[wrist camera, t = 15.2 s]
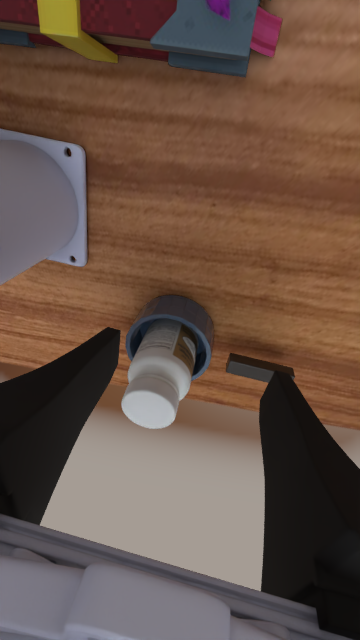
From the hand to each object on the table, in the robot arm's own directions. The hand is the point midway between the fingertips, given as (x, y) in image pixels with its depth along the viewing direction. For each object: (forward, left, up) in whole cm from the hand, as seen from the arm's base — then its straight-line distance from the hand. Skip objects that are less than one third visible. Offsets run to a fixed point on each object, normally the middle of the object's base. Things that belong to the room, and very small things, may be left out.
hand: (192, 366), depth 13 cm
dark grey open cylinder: (-2, -5, -9) cm, 11 cm away
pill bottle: (-2, -5, -9) cm, 11 cm away
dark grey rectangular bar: (+5, -5, -7) cm, 10 cm away
